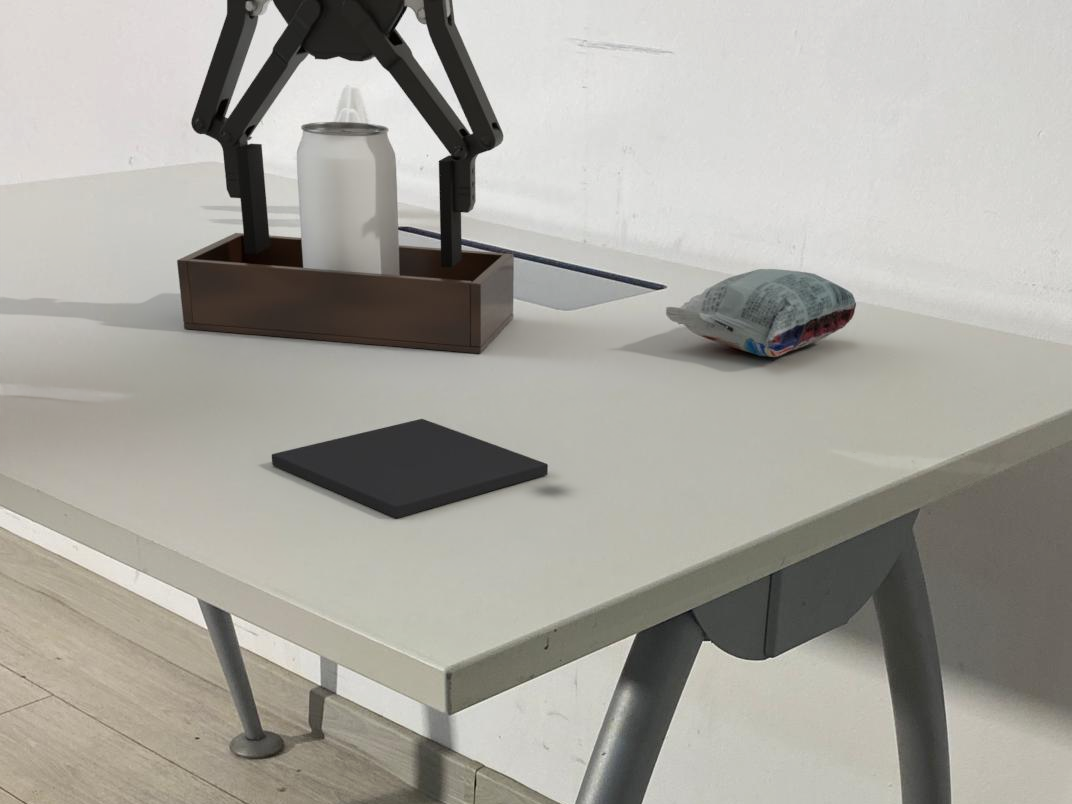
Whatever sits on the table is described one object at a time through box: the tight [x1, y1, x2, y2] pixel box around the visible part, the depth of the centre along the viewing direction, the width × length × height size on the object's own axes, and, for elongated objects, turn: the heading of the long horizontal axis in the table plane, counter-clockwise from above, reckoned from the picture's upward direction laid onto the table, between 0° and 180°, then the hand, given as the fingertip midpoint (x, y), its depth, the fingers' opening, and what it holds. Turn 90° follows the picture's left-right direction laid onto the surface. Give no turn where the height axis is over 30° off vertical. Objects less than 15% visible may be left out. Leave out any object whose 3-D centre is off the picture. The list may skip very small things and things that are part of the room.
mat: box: [271, 418, 549, 519], centre depth 73 cm, size 10×10×1 cm
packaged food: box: [665, 268, 857, 358], centre depth 97 cm, size 9×12×5 cm
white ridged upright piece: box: [332, 84, 371, 124], centre depth 131 cm, size 12×4×11 cm, turn 6°
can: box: [296, 121, 400, 275], centre depth 96 cm, size 6×6×12 cm
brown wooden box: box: [176, 232, 515, 354], centre depth 98 cm, size 20×10×4 cm, turn 81°
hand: (354, 257), depth 97 cm, fingers open, 13 cm apart
